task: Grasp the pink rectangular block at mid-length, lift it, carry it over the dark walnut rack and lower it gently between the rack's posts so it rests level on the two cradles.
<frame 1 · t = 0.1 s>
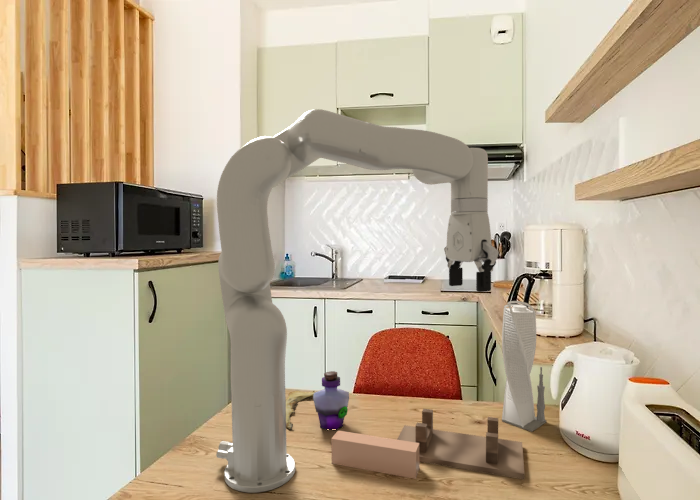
hand: (469, 288, 93), 31 cm above the table, tool pointing down, fingers open, 9 cm apart
skyscraper: (520, 422, 99), on the table
pink rectangular block: (375, 467, 81), on the table
animal bone: (297, 412, 106), on the table
rack: (457, 451, 86), on the table
potion bottle: (331, 426, 98), on the table
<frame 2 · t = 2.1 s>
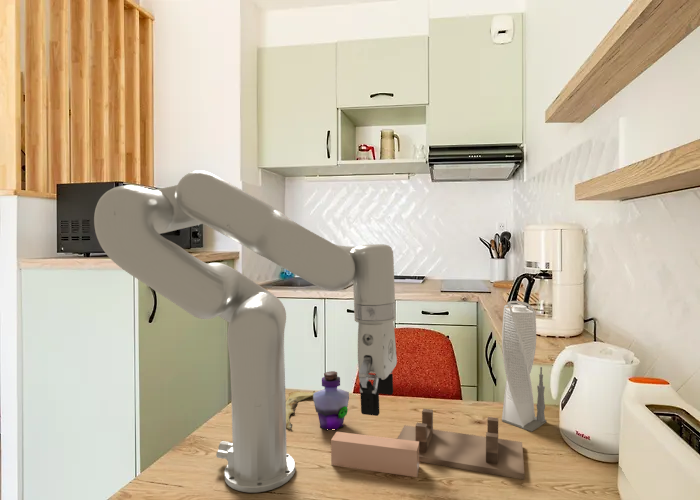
hand: (378, 403, 81), 12 cm above the table, tool pointing down, fingers open, 9 cm apart
nothing on the table moved.
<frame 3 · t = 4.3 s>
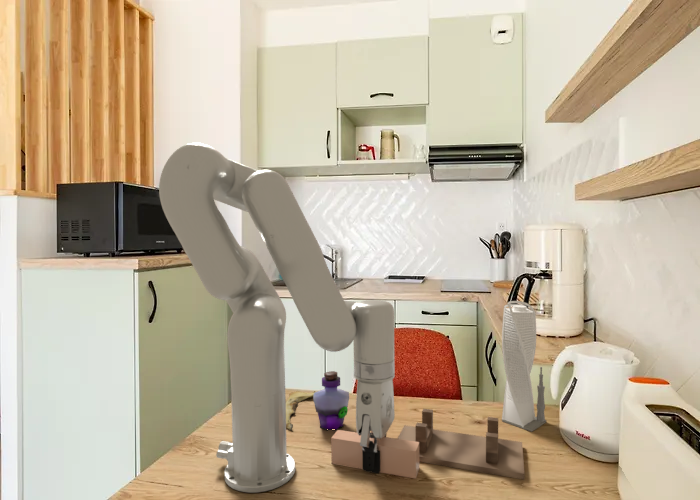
hand: (374, 464, 81), 0 cm above the table, tool pointing down, fingers closed on pink rectangular block, 3 cm apart
pink rectangular block: (374, 466, 81), on the table, touching gripper
everything else where it was.
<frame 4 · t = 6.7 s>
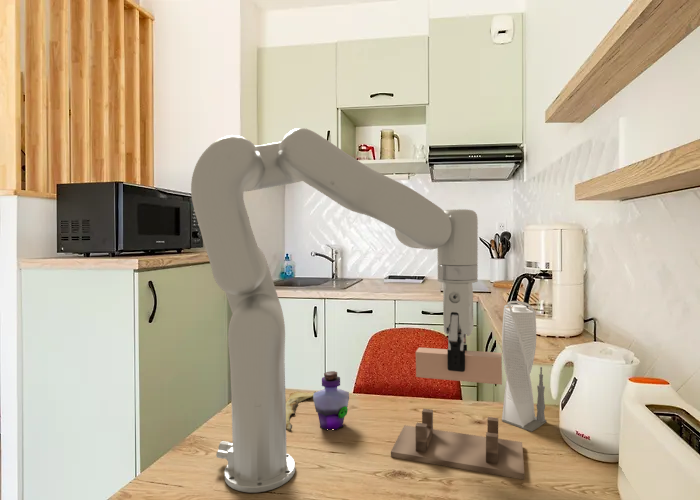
hand: (457, 366, 85), 17 cm above the table, tool pointing down, fingers closed on pink rectangular block, 3 cm apart
pink rectangular block: (458, 377, 85), point 15 cm above the table, touching gripper
everything else where it was.
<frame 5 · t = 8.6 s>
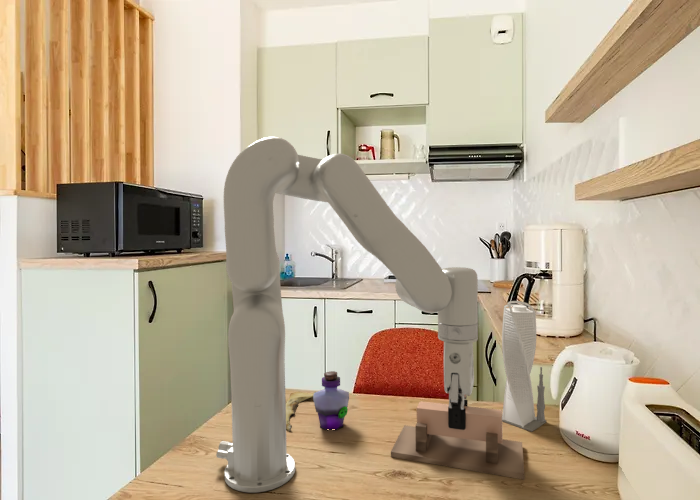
hand: (458, 422, 85), 6 cm above the table, tool pointing down, fingers closed on pink rectangular block, 3 cm apart
pink rectangular block: (459, 433, 85), point 4 cm above the table, touching gripper
everything else where it was.
when the fingers open (5 cm above the table, at t = 9.6 s): pink rectangular block stays where it is, resting on rack.
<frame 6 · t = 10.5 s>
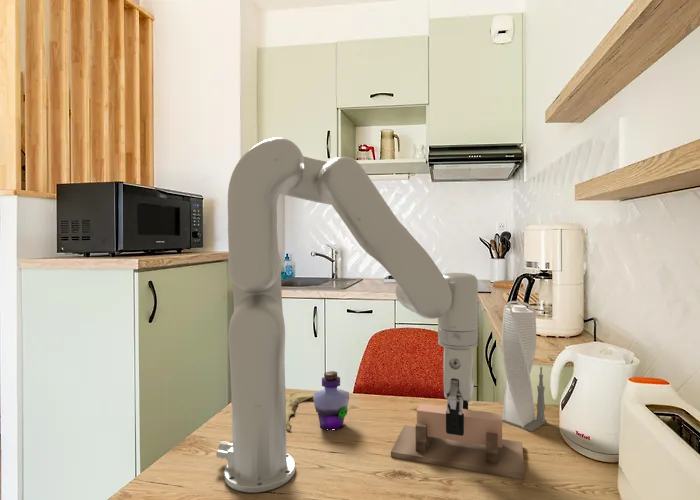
hand: (457, 422, 85), 6 cm above the table, tool pointing down, fingers open, 9 cm apart
pink rectangular block: (459, 436, 86), point 3 cm above the table, touching rack
everything else where it was.
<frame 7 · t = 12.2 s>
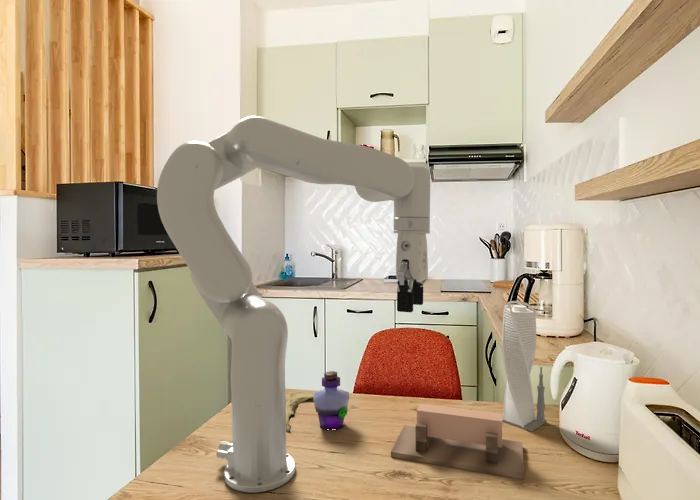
hand: (410, 307, 92), 27 cm above the table, tool pointing down, fingers open, 9 cm apart
nothing on the table moved.
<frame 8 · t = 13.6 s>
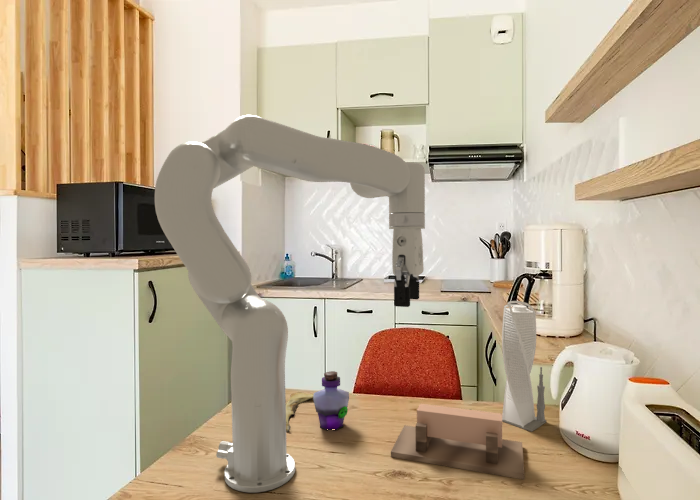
hand: (407, 302, 93), 28 cm above the table, tool pointing down, fingers open, 9 cm apart
at the end: pink rectangular block 0.3 cm off-centre on the rack, point 3.0 cm above the rack's base; pink rectangular block tilted 0°; the gripper is holding nothing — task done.
